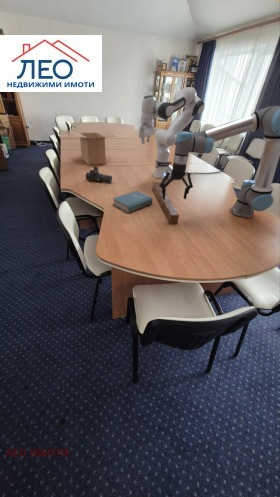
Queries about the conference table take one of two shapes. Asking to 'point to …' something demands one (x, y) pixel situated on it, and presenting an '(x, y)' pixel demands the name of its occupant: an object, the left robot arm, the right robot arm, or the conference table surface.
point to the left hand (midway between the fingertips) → (145, 142)
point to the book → (132, 201)
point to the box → (92, 146)
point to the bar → (165, 204)
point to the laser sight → (98, 176)
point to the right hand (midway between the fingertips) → (174, 198)
